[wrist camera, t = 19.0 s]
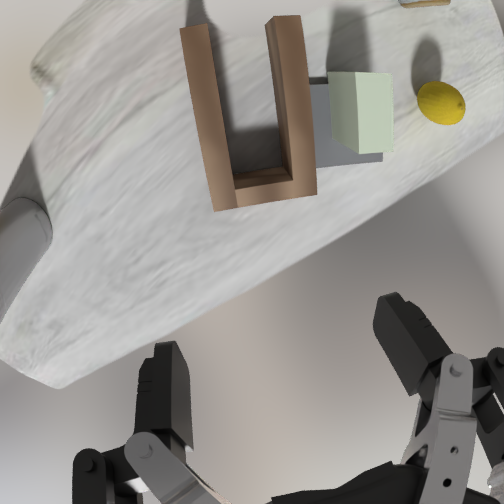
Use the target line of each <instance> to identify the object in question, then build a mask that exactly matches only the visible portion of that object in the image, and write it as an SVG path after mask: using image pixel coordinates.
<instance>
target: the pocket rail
mask: <svg viewBox="0 0 504 504" xmlns="http://www.w3.org/2000/svg"><path fill="white" fill-rule="evenodd" d="M265 30H266V36H267V43H268V50H269V57H270V64H271V71H272V79H273V86H274V94H275V102H276V110H277V119H278V127H279V136H280V145H281V155H282V165H283V166H282V167H275V168H269V169H262V170H256V171H250V172H244V173H238V174H232V169H231V164H230V158H229V152H228V146H227V140H226V134H225V128H224V122H223V116H222V110H221V104H220V98H219V92H218V86H217V80H216V74H215V68H214V62H213V56H212V49H211V43H210V37H209V31H208V25H207V23H206V24H200V25H195V26H189V27H185V28H180V35H181V41H182V47H183V53H184V59H185V65H186V71H187V76H188V82H189V88H190V93H191V99H192V104H193V109H194V115H195V120H196V125H197V130H198V136H199V141H200V146H201V151H202V156H203V161H204V166H205V171H206V176H207V180H208V185H209V190H210V195H211V199H212V204H213V209H214V212H217V211H222V210H228V209H233V208H239V207H244V206H250V205H256V204H262V203H268V202H274V201H280V200H286V199H292V198H299V197H305V196H312V195H317V178H316V159H315V143H314V129H313V117H312V105H311V95H310V85H309V76H308V67H307V59H306V51H305V43H304V36H303V29H302V23H301V16H300V15H291V16H273V18H271V19H270V20H269V21H268V22H267V24H265Z"/></svg>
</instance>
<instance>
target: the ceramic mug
mask: <svg viewBox="0 0 504 504" xmlns="http://www.w3.org/2000/svg"><path fill="white" fill-rule="evenodd" d="M398 2H399V3H400V4H401V6H403V7H405V8H414V7H425V6H441V5H449V4H450V0H398Z"/></svg>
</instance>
